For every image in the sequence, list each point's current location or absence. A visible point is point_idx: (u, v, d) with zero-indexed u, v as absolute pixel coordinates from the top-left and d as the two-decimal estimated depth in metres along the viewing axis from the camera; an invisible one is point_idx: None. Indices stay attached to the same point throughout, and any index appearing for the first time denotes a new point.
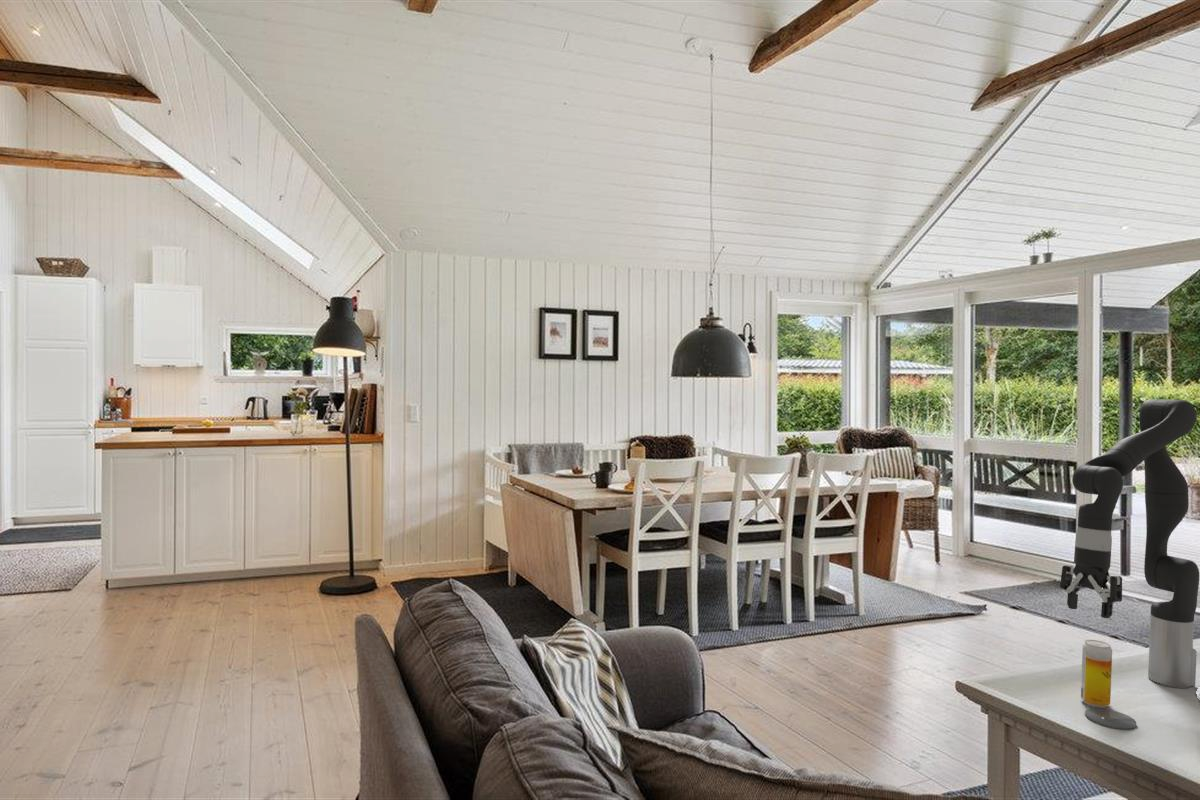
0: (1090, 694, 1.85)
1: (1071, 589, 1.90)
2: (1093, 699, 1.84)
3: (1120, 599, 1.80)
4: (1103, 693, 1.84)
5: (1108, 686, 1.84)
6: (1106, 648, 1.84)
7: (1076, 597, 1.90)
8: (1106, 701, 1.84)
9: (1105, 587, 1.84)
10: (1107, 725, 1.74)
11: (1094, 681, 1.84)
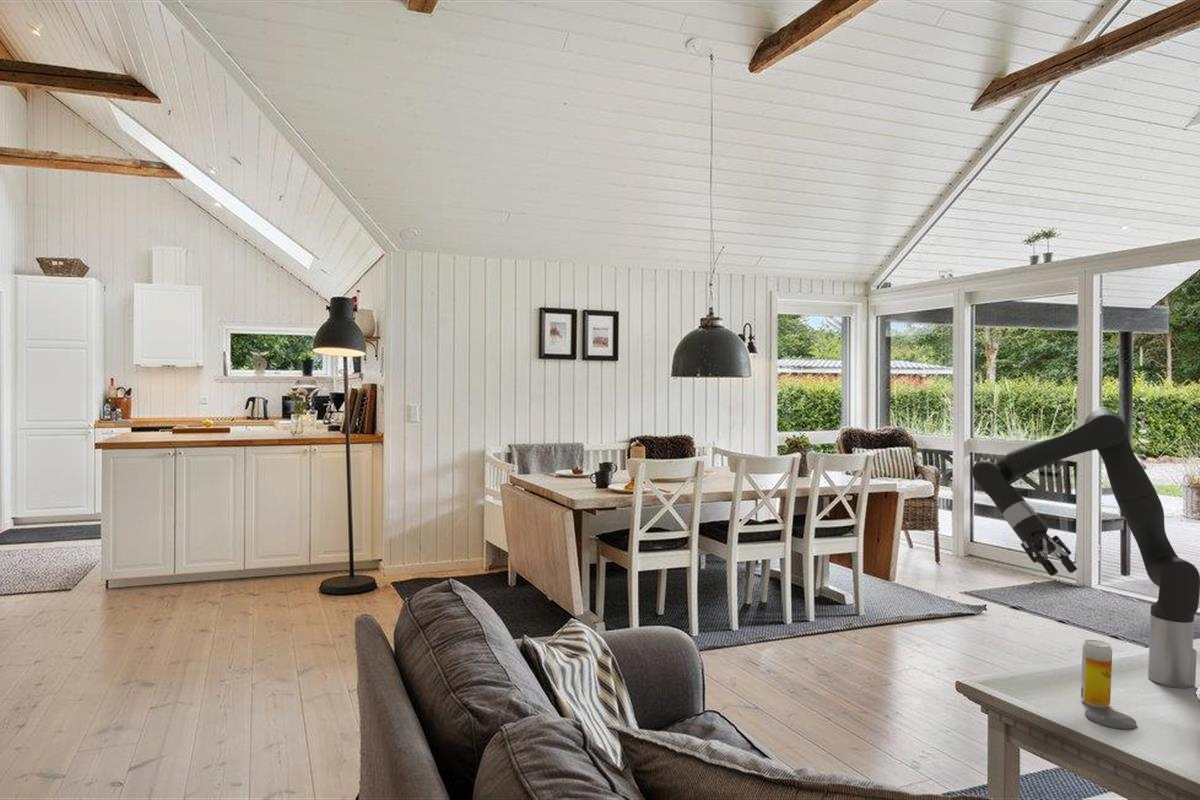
0: (1090, 694, 1.85)
1: None
2: (1093, 699, 1.84)
3: (1037, 557, 1.99)
4: (1103, 693, 1.84)
5: (1108, 686, 1.84)
6: (1106, 648, 1.84)
7: (1067, 560, 2.03)
8: (1106, 701, 1.84)
9: None
10: (1107, 725, 1.74)
11: (1094, 681, 1.84)
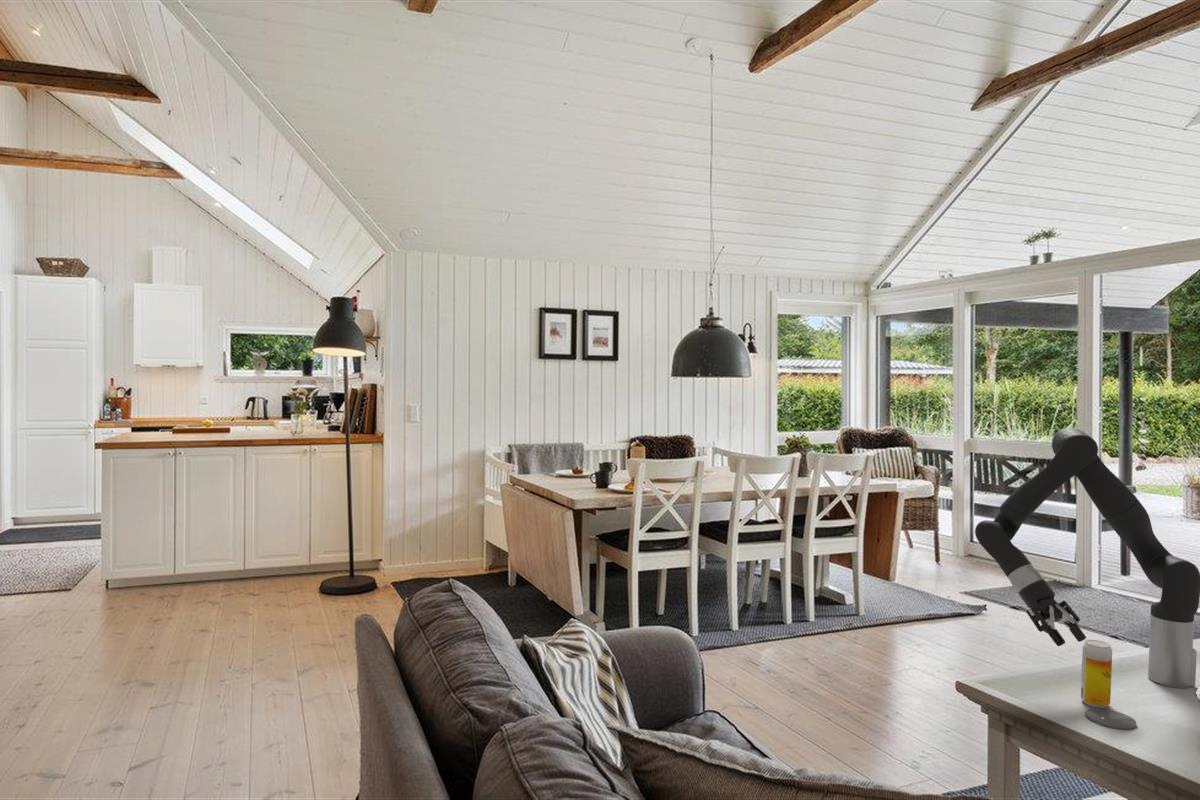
0: (1090, 694, 1.85)
1: None
2: (1093, 699, 1.84)
3: (1043, 626, 1.91)
4: (1103, 693, 1.84)
5: (1108, 686, 1.84)
6: (1106, 648, 1.84)
7: (1076, 628, 1.95)
8: (1106, 701, 1.84)
9: None
10: (1107, 725, 1.74)
11: (1094, 681, 1.84)
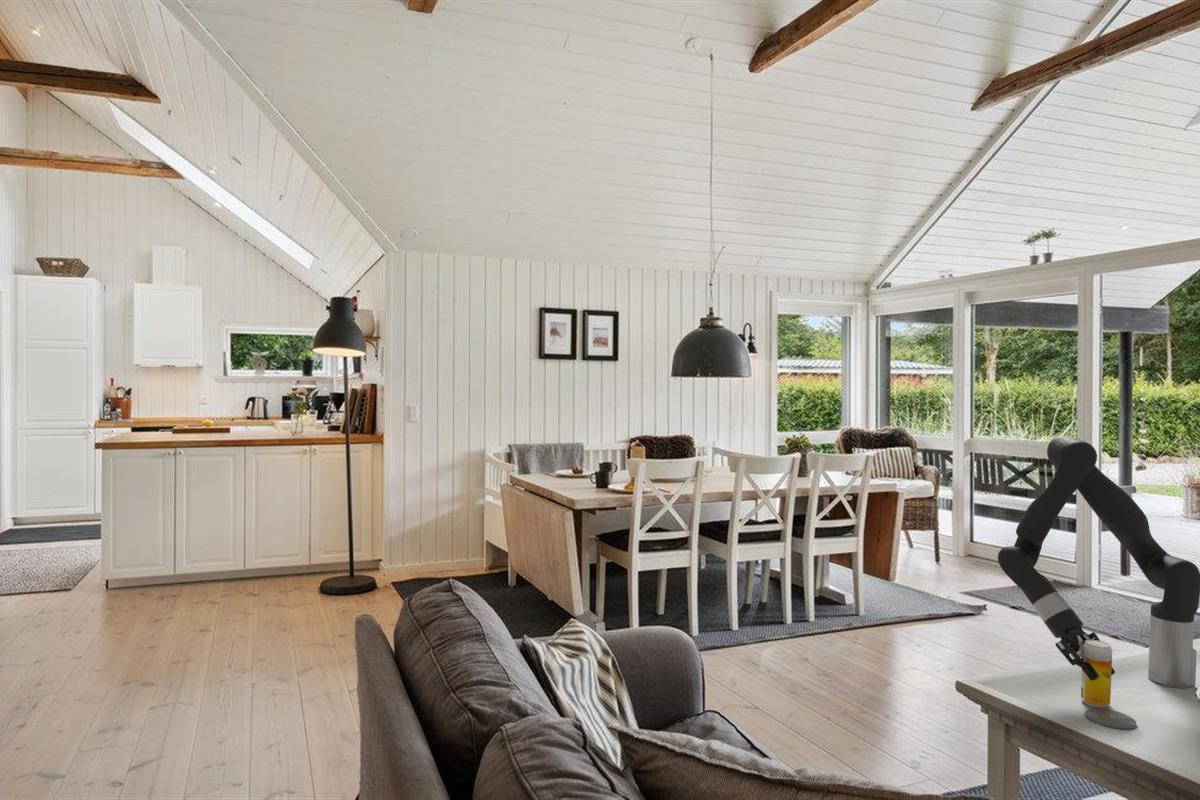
0: (1090, 694, 1.85)
1: None
2: (1093, 699, 1.84)
3: (1076, 660, 1.85)
4: (1103, 693, 1.84)
5: (1108, 686, 1.84)
6: (1106, 648, 1.84)
7: None
8: (1106, 701, 1.84)
9: None
10: (1107, 725, 1.74)
11: (1094, 681, 1.84)
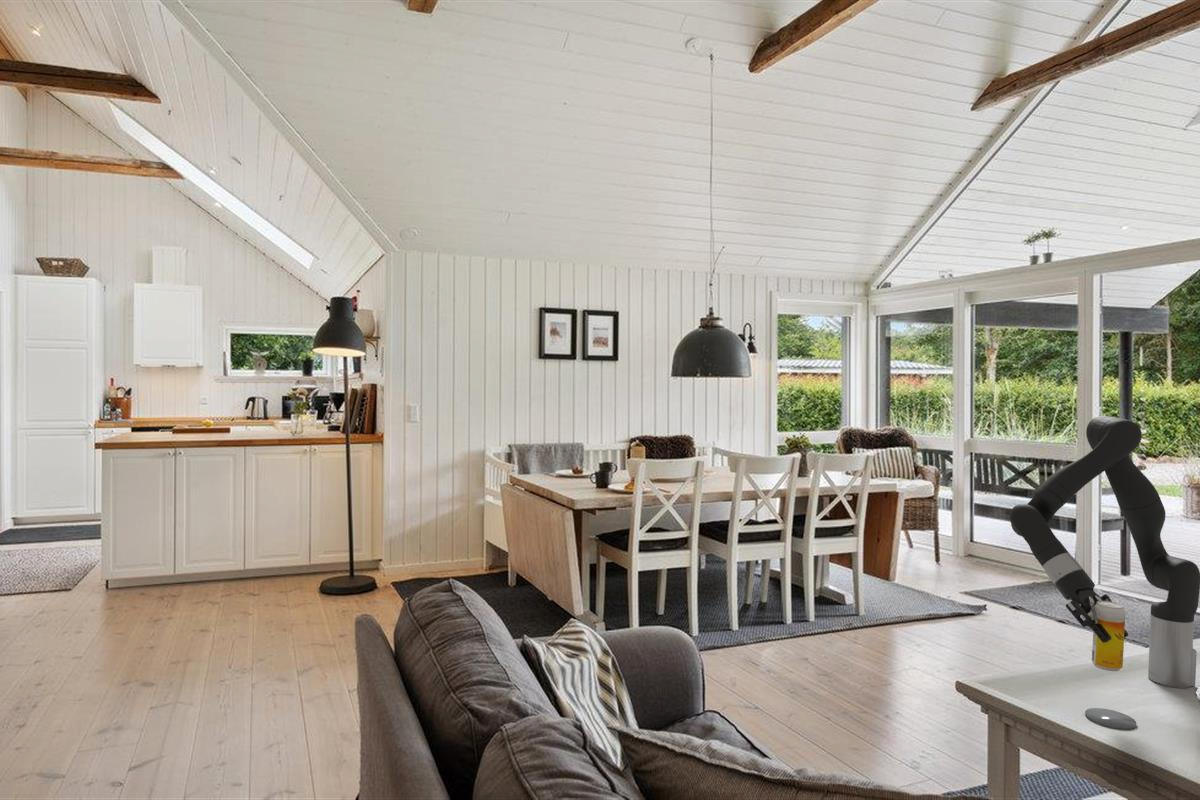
0: (1102, 657, 1.77)
1: None
2: (1105, 662, 1.76)
3: (1087, 621, 1.77)
4: (1115, 655, 1.76)
5: (1120, 649, 1.76)
6: (1119, 609, 1.76)
7: None
8: (1118, 664, 1.76)
9: None
10: (1107, 725, 1.74)
11: (1106, 643, 1.76)
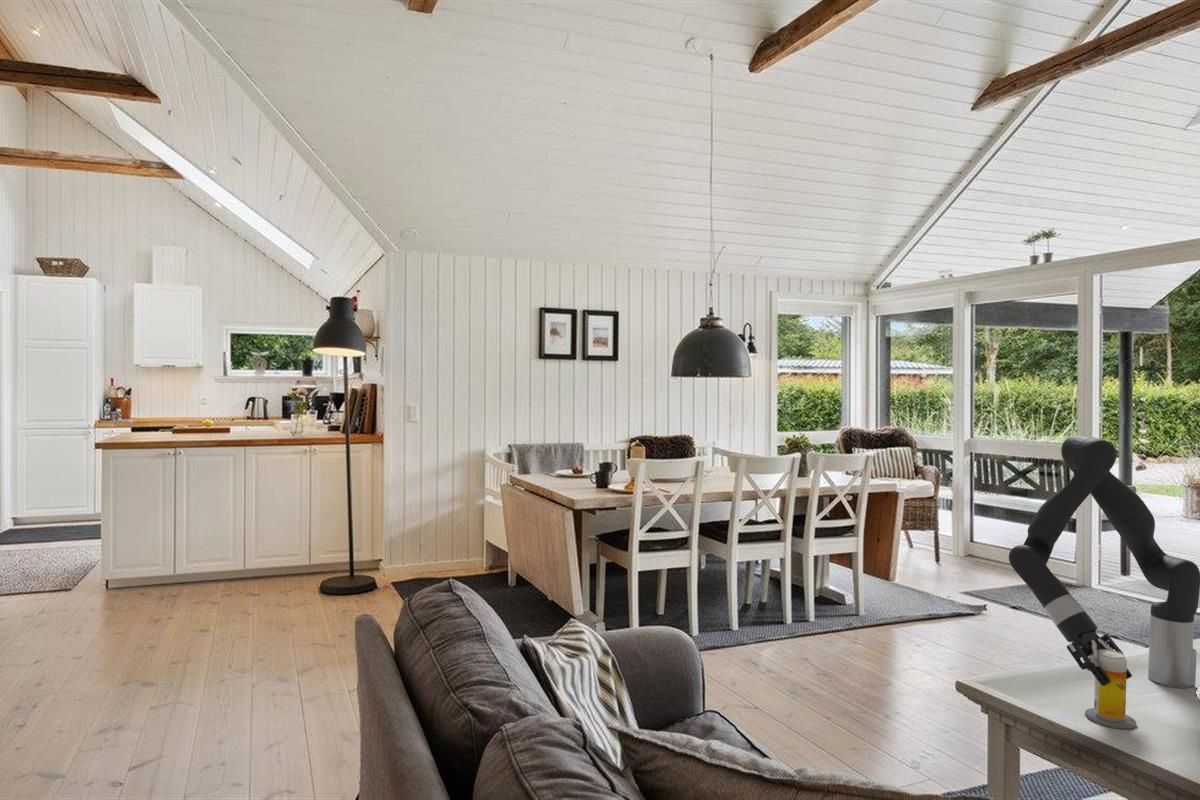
0: (1105, 707, 1.76)
1: None
2: (1107, 712, 1.76)
3: (1086, 663, 1.76)
4: (1118, 705, 1.75)
5: (1123, 699, 1.75)
6: (1120, 658, 1.75)
7: None
8: (1121, 714, 1.75)
9: None
10: (1107, 725, 1.74)
11: (1108, 693, 1.76)
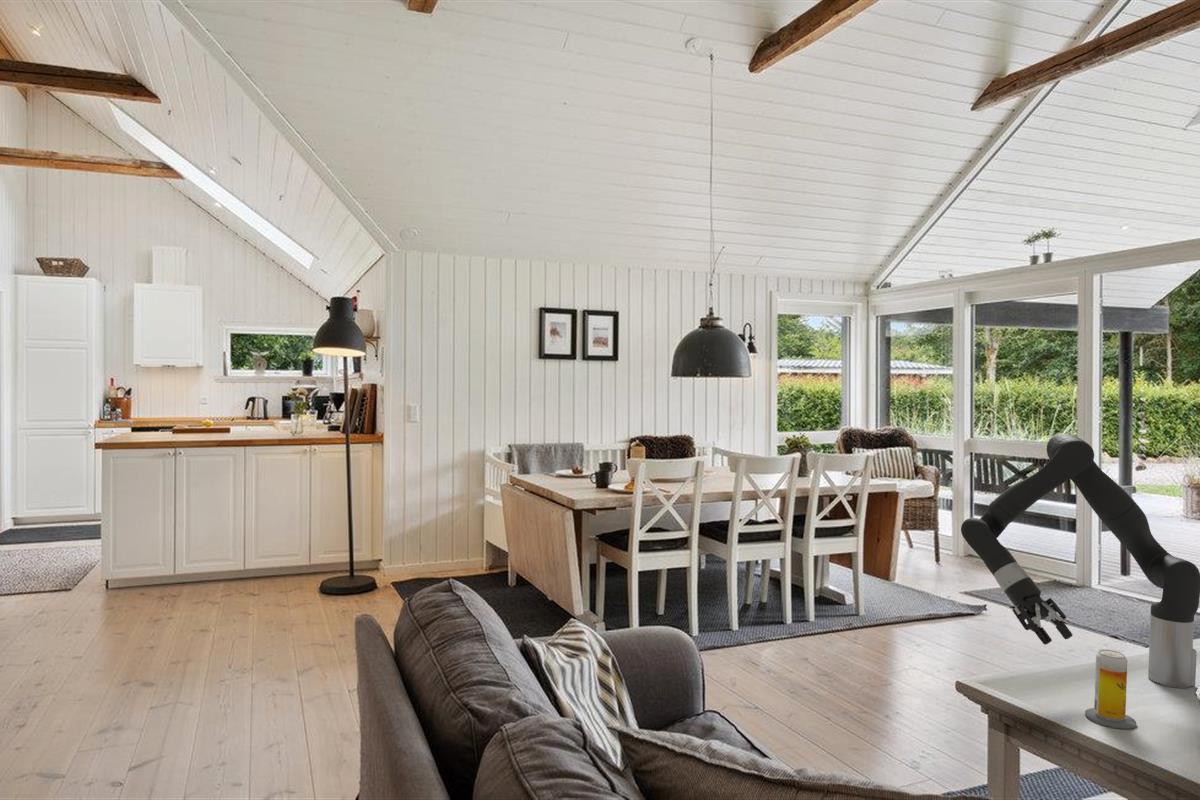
0: (1105, 707, 1.76)
1: None
2: (1108, 712, 1.76)
3: (1029, 624, 1.90)
4: (1118, 705, 1.75)
5: (1123, 699, 1.75)
6: (1121, 658, 1.75)
7: (1062, 626, 1.94)
8: (1121, 714, 1.75)
9: None
10: (1107, 725, 1.74)
11: (1108, 693, 1.76)
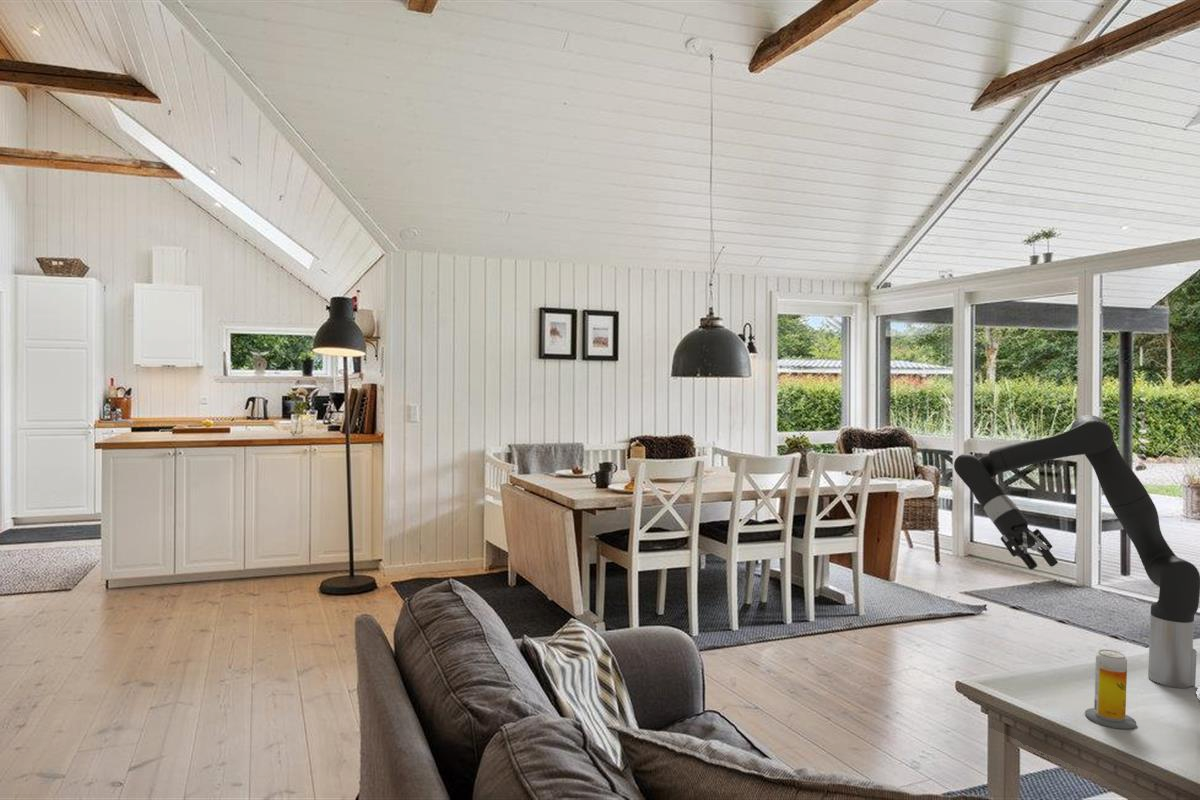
0: (1105, 707, 1.76)
1: None
2: (1107, 712, 1.76)
3: (1016, 550, 1.98)
4: (1118, 705, 1.75)
5: (1123, 699, 1.75)
6: (1121, 658, 1.75)
7: (1048, 554, 2.02)
8: (1121, 714, 1.75)
9: None
10: (1107, 725, 1.74)
11: (1108, 693, 1.76)
